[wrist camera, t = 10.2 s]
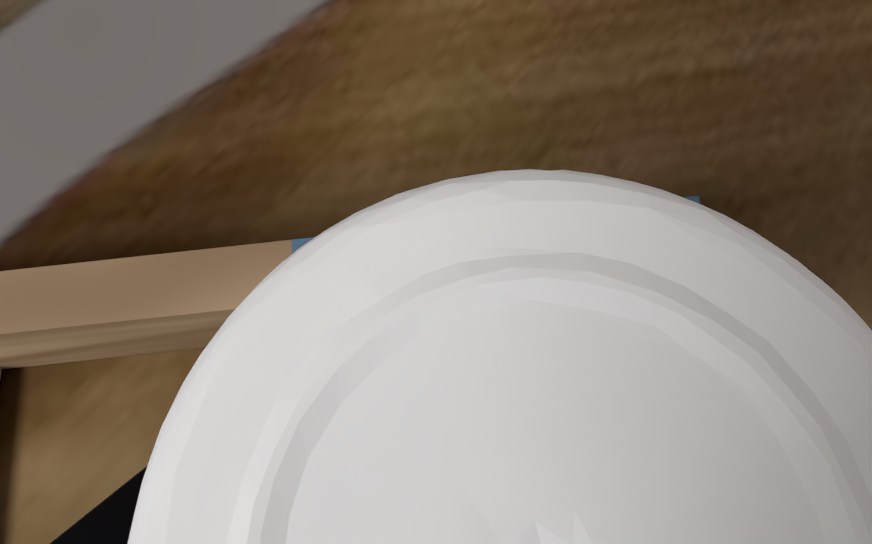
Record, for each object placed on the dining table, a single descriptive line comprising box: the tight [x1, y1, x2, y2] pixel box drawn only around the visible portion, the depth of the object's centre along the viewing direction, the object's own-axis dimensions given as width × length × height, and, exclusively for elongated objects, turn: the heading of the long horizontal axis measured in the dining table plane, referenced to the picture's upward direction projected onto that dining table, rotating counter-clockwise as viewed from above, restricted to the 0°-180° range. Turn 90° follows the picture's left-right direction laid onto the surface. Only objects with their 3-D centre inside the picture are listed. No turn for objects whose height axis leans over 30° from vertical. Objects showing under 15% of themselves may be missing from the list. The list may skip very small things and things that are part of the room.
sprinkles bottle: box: [128, 169, 872, 544], centre depth 9 cm, size 5×5×14 cm
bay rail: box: [0, 196, 700, 379], centre depth 14 cm, size 11×29×4 cm, turn 96°
